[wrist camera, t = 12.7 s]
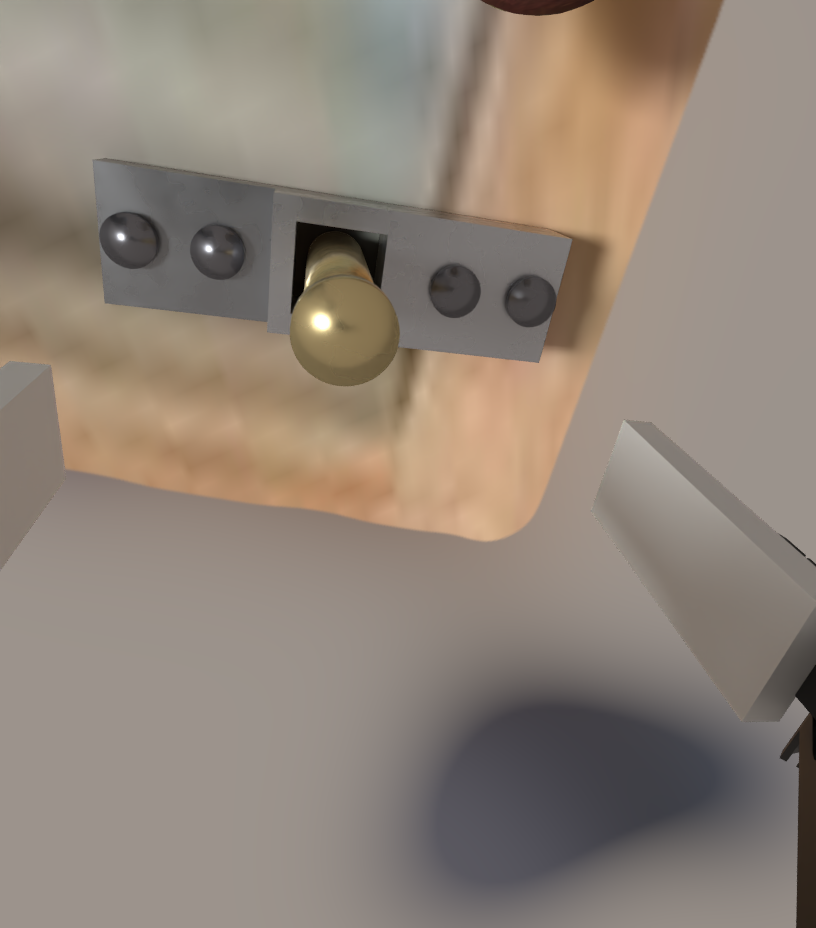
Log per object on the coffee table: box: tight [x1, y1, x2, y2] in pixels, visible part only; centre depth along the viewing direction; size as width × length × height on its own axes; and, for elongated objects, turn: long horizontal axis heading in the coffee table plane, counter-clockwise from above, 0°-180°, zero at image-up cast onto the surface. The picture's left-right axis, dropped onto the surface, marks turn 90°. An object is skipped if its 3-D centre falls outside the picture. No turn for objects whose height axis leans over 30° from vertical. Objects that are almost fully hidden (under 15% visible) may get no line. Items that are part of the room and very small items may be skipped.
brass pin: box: [290, 231, 400, 386], centre depth 29 cm, size 4×4×15 cm
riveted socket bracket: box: [93, 158, 573, 363], centre depth 33 cm, size 25×7×5 cm, turn 81°
